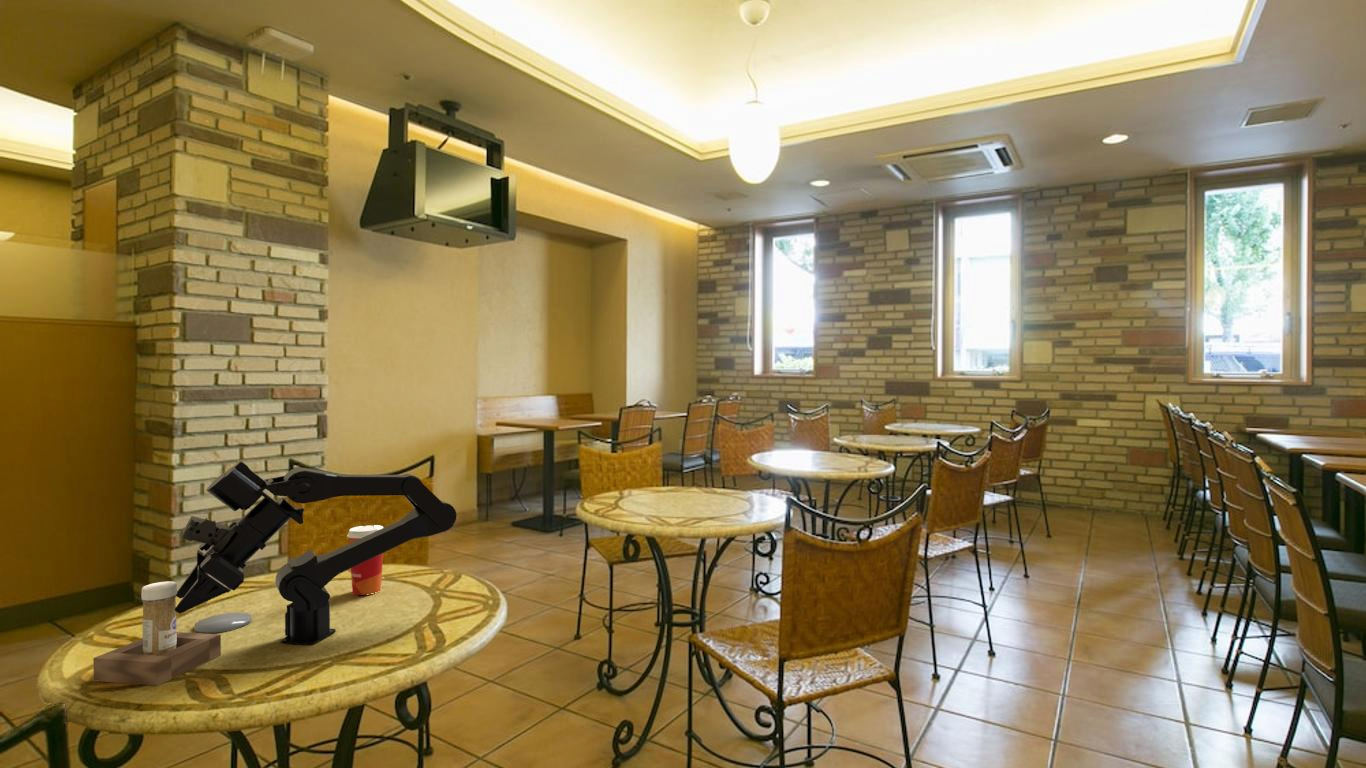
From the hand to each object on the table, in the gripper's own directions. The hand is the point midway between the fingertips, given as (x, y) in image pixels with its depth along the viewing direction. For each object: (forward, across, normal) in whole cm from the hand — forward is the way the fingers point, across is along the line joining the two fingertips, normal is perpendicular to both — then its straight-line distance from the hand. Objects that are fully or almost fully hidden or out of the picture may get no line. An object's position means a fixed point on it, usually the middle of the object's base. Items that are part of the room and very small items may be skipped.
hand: (177, 604), depth 111 cm
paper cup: (-16, -23, +30) cm, 41 cm away
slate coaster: (+2, -17, +12) cm, 21 cm away
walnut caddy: (+8, 0, +5) cm, 10 cm away
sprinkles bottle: (+9, 0, +6) cm, 10 cm away
